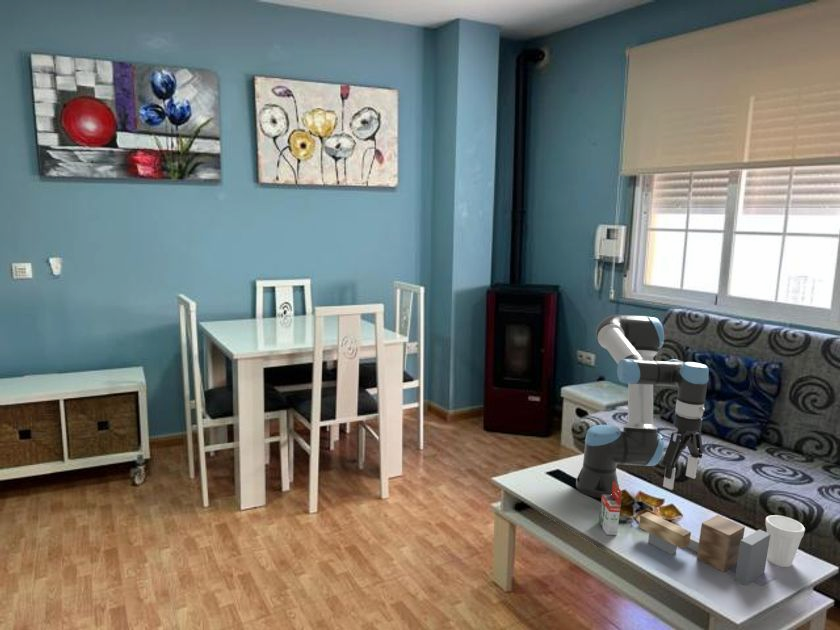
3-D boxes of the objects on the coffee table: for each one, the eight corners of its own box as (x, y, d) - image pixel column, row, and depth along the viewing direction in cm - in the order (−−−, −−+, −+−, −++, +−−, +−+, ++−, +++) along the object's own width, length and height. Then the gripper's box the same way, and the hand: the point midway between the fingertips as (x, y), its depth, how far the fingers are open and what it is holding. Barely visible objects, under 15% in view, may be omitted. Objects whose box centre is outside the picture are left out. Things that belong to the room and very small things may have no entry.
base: (660, 545, 186) (665, 506, 184) (679, 535, 193) (684, 497, 190) (746, 590, 166) (753, 546, 163) (765, 577, 172) (772, 534, 170)
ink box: (606, 535, 190) (611, 491, 188) (597, 522, 198) (602, 480, 196) (617, 535, 191) (622, 491, 188) (608, 522, 198) (613, 480, 196)
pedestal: (647, 545, 185) (649, 530, 185) (651, 544, 187) (653, 528, 186) (671, 558, 179) (674, 542, 178) (675, 556, 180) (677, 541, 180)
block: (696, 558, 178) (701, 522, 176) (712, 549, 183) (717, 514, 181) (723, 572, 172) (729, 535, 170) (739, 562, 177) (744, 526, 175)
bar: (638, 527, 186) (640, 515, 186) (646, 523, 189) (647, 511, 188) (681, 548, 175) (683, 535, 175) (689, 544, 178) (690, 532, 177)
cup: (752, 553, 184) (759, 513, 182) (786, 556, 184) (792, 516, 182) (770, 573, 175) (777, 531, 172) (805, 575, 174) (813, 533, 172)
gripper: (679, 426, 170) (670, 497, 173) (720, 411, 185) (711, 477, 189) (654, 418, 175) (645, 487, 179) (696, 404, 191) (687, 468, 195)
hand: (679, 482), depth 184 cm, fingers open, 13 cm apart
